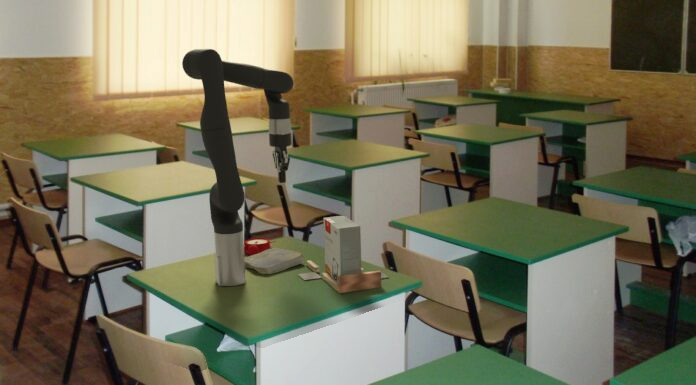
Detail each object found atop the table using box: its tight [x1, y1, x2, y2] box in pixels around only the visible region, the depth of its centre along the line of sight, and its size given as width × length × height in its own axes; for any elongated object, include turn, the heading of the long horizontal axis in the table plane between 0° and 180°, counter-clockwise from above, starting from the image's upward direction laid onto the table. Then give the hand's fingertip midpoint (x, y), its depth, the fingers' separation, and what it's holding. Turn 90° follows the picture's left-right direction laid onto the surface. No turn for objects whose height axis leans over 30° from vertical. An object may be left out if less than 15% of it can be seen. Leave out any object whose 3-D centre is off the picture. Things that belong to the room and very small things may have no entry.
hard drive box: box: [322, 215, 362, 282], centre depth 264 cm, size 16×8×20 cm, turn 20°
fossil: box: [244, 247, 305, 275], centre depth 287 cm, size 20×5×17 cm
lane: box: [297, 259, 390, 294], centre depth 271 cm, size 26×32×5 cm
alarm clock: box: [244, 237, 276, 256], centre depth 303 cm, size 10×6×15 cm
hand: (282, 182), depth 281 cm, fingers closed
